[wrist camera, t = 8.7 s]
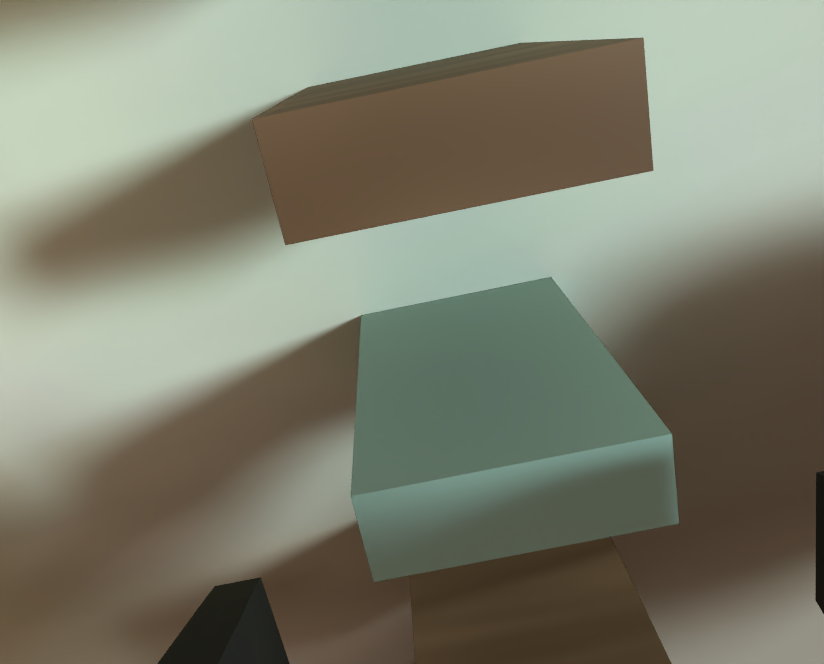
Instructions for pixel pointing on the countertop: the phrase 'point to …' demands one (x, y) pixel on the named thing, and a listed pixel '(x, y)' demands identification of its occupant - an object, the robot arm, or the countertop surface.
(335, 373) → the countertop surface
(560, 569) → the domino
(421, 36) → the countertop surface
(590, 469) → the domino
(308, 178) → the domino
